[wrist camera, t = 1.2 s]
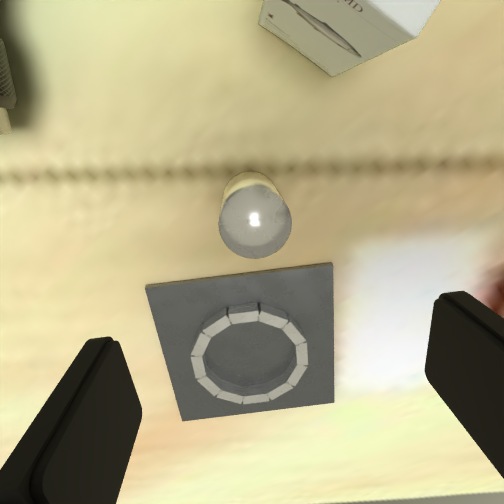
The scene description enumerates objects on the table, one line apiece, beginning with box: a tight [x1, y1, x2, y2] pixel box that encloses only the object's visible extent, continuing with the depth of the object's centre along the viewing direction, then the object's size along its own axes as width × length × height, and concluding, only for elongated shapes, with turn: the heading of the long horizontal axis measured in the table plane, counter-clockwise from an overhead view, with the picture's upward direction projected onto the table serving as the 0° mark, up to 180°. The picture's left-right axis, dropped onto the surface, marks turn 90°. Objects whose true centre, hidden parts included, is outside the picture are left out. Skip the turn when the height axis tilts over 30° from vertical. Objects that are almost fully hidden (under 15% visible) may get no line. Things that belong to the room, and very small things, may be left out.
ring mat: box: [145, 263, 334, 421], centre depth 34 cm, size 19×19×2 cm
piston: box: [219, 171, 292, 259], centre depth 25 cm, size 5×5×8 cm
